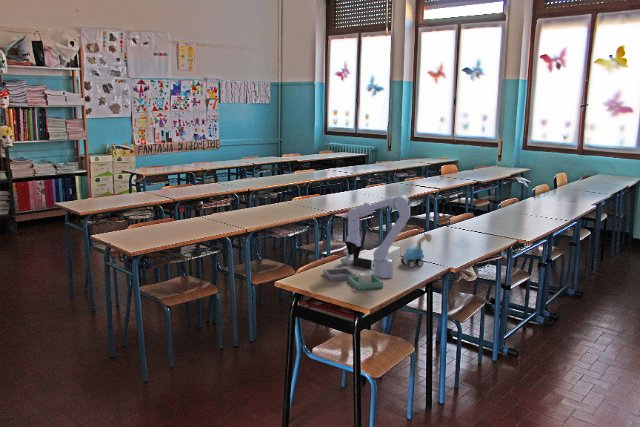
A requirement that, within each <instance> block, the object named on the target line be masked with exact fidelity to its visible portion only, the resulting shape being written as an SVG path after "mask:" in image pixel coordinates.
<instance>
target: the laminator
mask: <svg viewBox="0 0 640 427" xmlns="http://www.w3.org/2000/svg"><path fill="white" fill-rule="evenodd" d="M376 249H377V247H375V248H372V249H369V250H367V251H365V252H363V253H359V257H358V259H354V258H353V264H352V265H353V266H354V267H358V268H362V269H369V270H370V271H374V256H373V254H374V251H375V250H376ZM401 249H402V248H401V246H395V245H391V247H390V248H389V251H388V254H387V255H386V256H387V258H388V259H391V260H392V262H393V261H395V260H397V259H399V258H400V257H401Z"/></svg>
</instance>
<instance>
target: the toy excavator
mask: <svg viewBox="0 0 640 427" xmlns="http://www.w3.org/2000/svg"><path fill="white" fill-rule="evenodd" d="M425 240H426V242H427V243H430V242H431V241H432V235H431V234H430V233H427V232H424V233H423V236H421V237H420V238H418V239H417V241H416V246H413V245H410V246H408V247H407V249H406V250H405V253H403V254H402V257H401V259H400V263H401V264H402V265H406V266H407V267H409V268H413V267H415V266H417V267H422V266H423V265H424V262H425V261H424V260H423V259H424V258H425V254H424V251H423V249H422V243H423V242H425Z"/></svg>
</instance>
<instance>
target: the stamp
mask: <svg viewBox="0 0 640 427" xmlns="http://www.w3.org/2000/svg"><path fill="white" fill-rule="evenodd" d="M343 254H344V255H345V256H344V257H342V258H340V260H339V262H341V264H342V265H347V266H351V265H353V258H354V257H352V255H349V254H348V250H347V249H344V250H343Z"/></svg>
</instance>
